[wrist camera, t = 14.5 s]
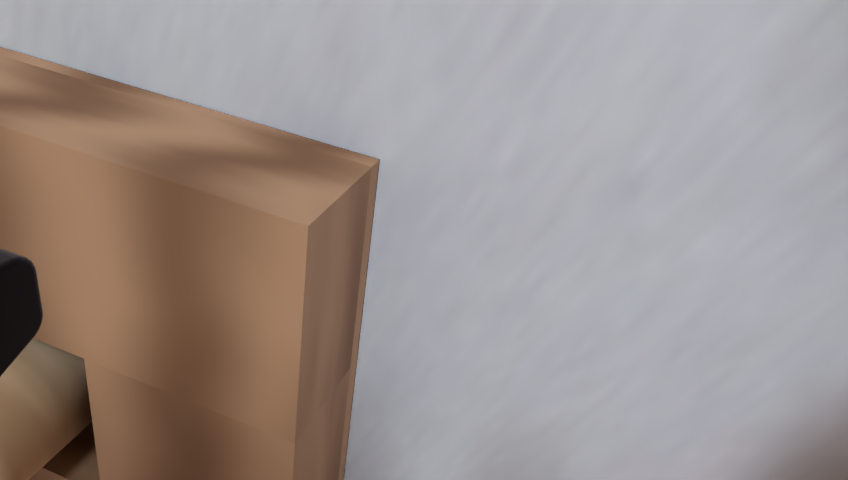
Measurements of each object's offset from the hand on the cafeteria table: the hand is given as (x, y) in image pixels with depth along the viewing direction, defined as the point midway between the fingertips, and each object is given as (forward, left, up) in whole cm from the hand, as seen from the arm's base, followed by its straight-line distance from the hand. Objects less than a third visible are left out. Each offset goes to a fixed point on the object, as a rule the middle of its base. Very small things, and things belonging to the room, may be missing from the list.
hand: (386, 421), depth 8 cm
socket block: (+15, +14, -12) cm, 23 cm away
